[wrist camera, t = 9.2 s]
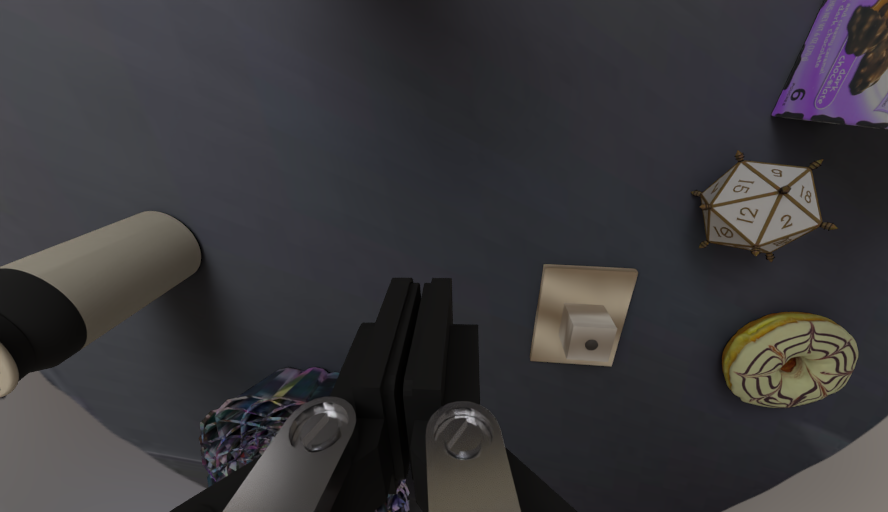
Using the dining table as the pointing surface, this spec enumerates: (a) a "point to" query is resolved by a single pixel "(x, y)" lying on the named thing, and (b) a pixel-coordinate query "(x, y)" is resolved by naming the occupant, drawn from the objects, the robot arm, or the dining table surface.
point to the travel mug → (87, 289)
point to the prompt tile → (578, 292)
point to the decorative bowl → (267, 424)
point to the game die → (761, 206)
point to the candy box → (841, 67)
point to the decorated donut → (788, 359)
